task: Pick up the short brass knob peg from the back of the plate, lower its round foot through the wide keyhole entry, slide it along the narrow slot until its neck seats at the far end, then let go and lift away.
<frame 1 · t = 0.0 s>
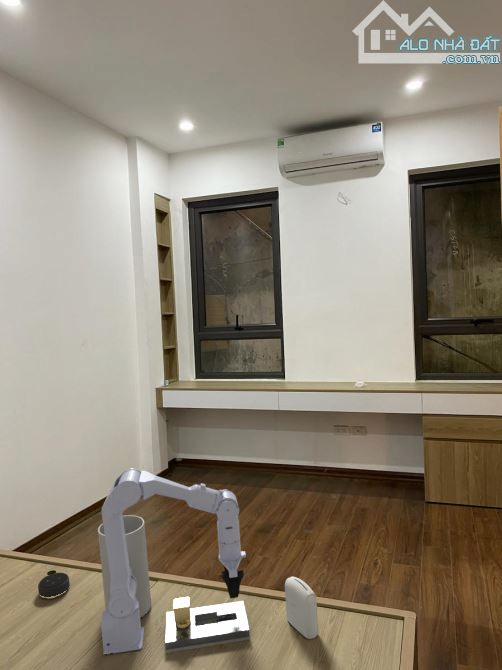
hand: (232, 588, 129), 10 cm above the table, tool pointing down, fingers open, 7 cm apart
smart speaker: (54, 592, 150), on the table
cylinder vase: (129, 611, 139), on the table
photo printer: (302, 628, 127), on the table
keyhole plate: (207, 630, 128), on the table
brass peg: (183, 624, 127), point 3 cm above the table, touching keyhole plate
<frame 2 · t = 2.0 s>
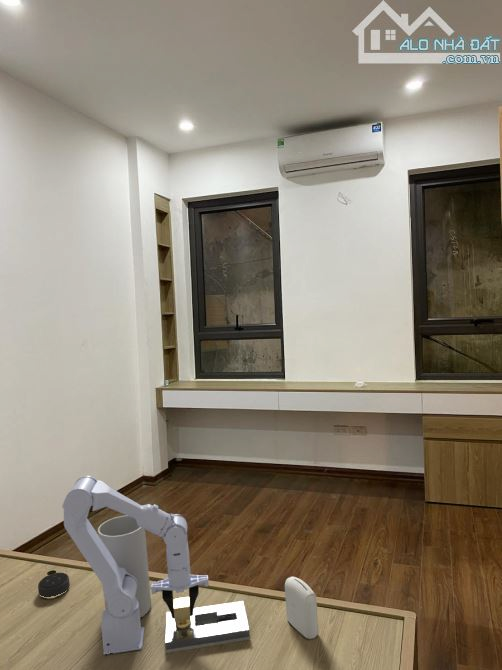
hand: (182, 614, 127), 5 cm above the table, tool pointing down, fingers closed on brass peg, 4 cm apart
brass peg: (183, 624, 127), point 3 cm above the table, touching gripper, keyhole plate
everything else where it was.
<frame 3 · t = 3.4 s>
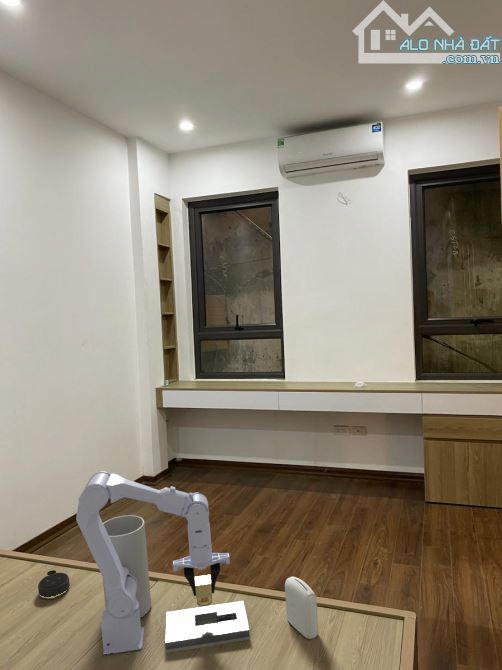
hand: (203, 592, 127), 10 cm above the table, tool pointing down, fingers closed on brass peg, 4 cm apart
brass peg: (204, 601, 128), point 8 cm above the table, touching gripper
everything else where it was.
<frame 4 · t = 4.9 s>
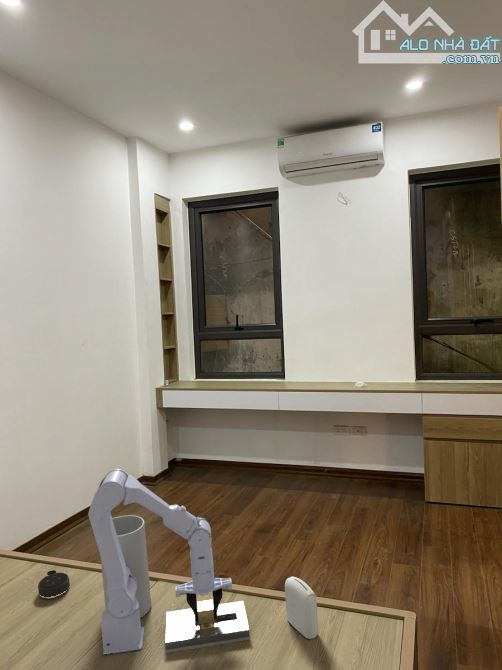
hand: (206, 617, 128), 4 cm above the table, tool pointing down, fingers closed on brass peg, 4 cm apart
brass peg: (206, 626, 128), point 1 cm above the table, touching gripper
everything else where it was.
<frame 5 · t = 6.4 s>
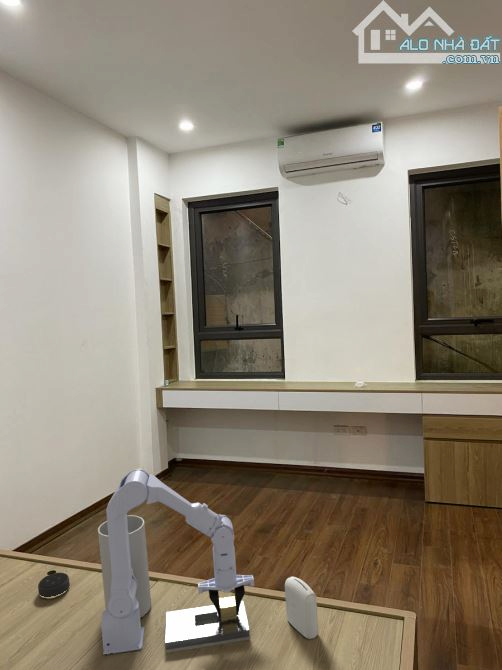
hand: (228, 614, 129), 4 cm above the table, tool pointing down, fingers closed on brass peg, 4 cm apart
brass peg: (228, 623, 129), point 1 cm above the table, touching gripper
everything else where it was.
when the fingers open (3 cm above the table, at t = 7.9 s): brass peg stays where it is, resting on keyhole plate.
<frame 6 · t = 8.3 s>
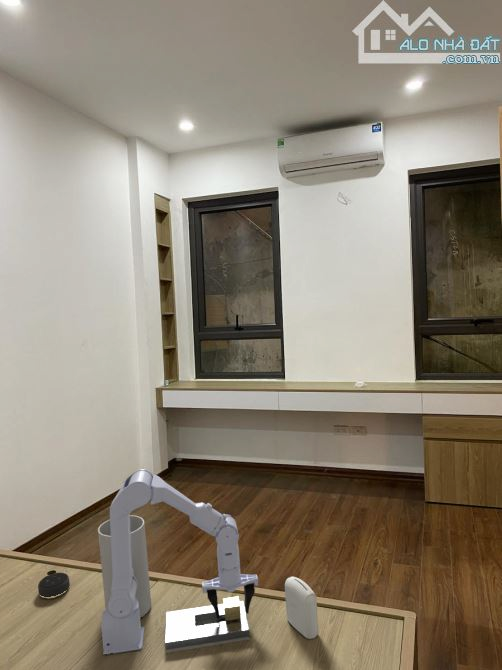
hand: (232, 613, 129), 4 cm above the table, tool pointing down, fingers open, 7 cm apart
brass peg: (233, 623, 129), point 1 cm above the table, touching keyhole plate
everything else where it was.
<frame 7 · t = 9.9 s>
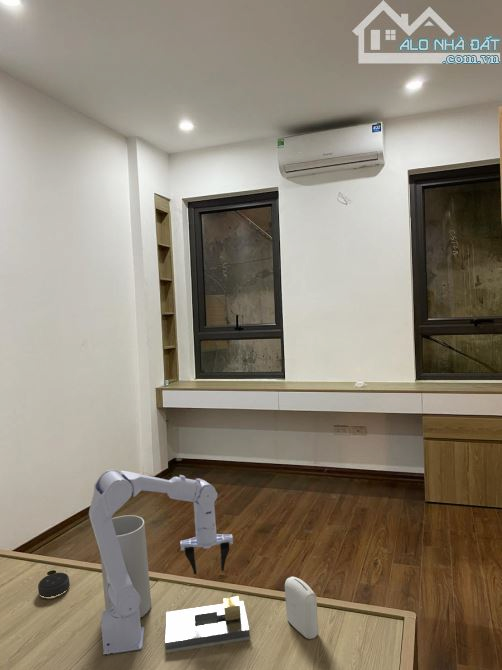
hand: (208, 570, 138), 10 cm above the table, tool pointing down, fingers open, 7 cm apart
nothing on the table moved.
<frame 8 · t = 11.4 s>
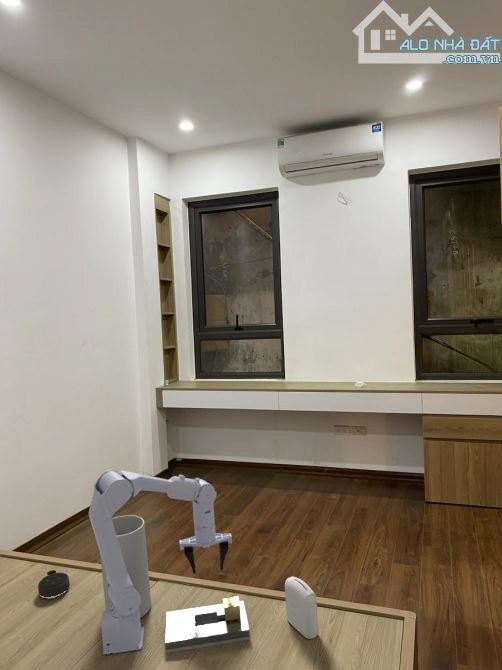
hand: (208, 569, 138), 10 cm above the table, tool pointing down, fingers open, 7 cm apart
nothing on the table moved.
at the end: brass peg 0.2 cm from the target spot on the keyhole plate, point 0.8 cm above the keyhole plate's base; the gripper is holding nothing; brass peg tilted 1° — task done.
